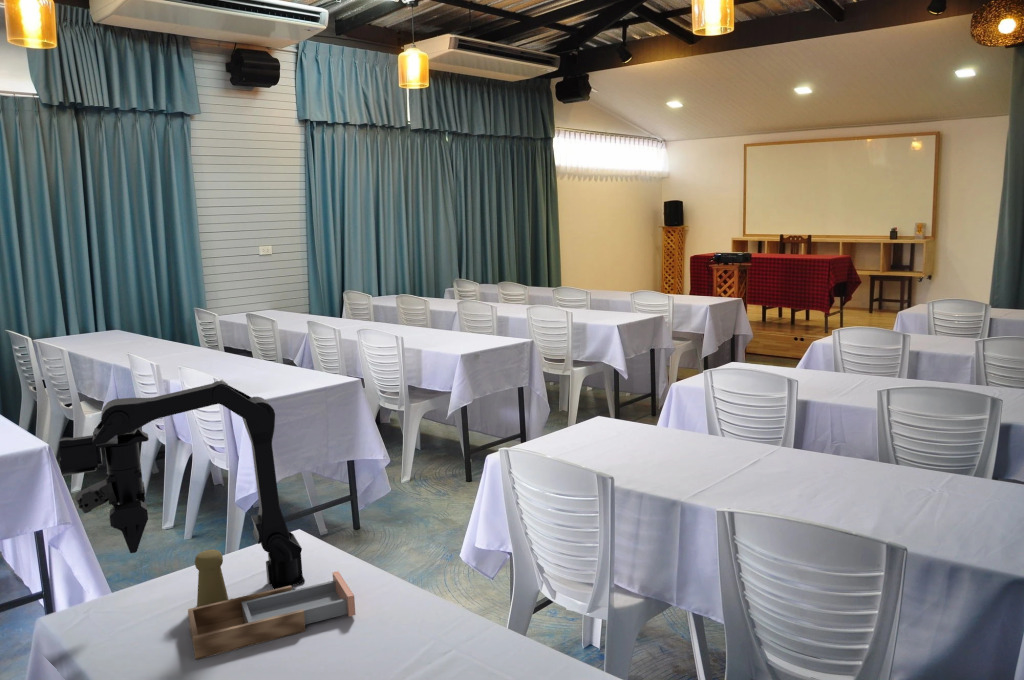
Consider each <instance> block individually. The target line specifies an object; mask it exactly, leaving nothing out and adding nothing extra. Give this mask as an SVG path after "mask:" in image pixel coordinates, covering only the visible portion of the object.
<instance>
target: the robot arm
mask: <svg viewBox="0 0 1024 680" xmlns="http://www.w3.org/2000/svg"><path fill="white" fill-rule="evenodd" d="M215 405H221V406H223V407H225V408H226V409H228V410H230V411H231V412H232V413H234V414H236V415H237V416H238V417H241V418H242V420H243V424H244V426H245V430H246V432H247V435H248V438H249V440H250V443H251V450H252V452H251V453H252V459H253V467H254V468H253V469H254V474H255V483H256V489H257V499H258V512H257V514H252V515H251V516H250V518H251V520H252V523H253V530H252V533H253V536H254V538H255V540H256V542H257V544H258V545H259V544H260V545H261V547H262V550H263V551H264V552H266V553H267V559H268V560H266V561H265V566H266V567H265V569H266V571H265V572H266V580H267V581H268V582H267V583H269V585H271V588H272V590H273V589H277V588H282V587H286V586H290V585H291V586H295V585H300V584H304V583H305V582H306V580H305V578H304V576H303V563H302V551H303V548H302V546H301V545H300V543H299V542H298V540H297V538H296V536H295V534H294V533H292V532H290V530H288V526H287V524H286V521H285V518H284V515H283V512H282V510H281V506H280V499H279V492H278V491H279V490H278V484H277V474H276V467H275V466H276V465H275V459H274V450H273V438H274V435H275V425H276V424H275V423H276V413H275V409H274V408H273V407H272V405H271V404H270V403H269V402H268V401H267V400H266V399H265V398H263V397H261V396H250V395H249V394H246V393H245V392H243V391H241V390H239V389H237V388H235V387H233V386H230V385H229V384H228V383H227V382H226V381H223V380H216V381H214V382H212V383H209V384H204V385H200V386H195V387H192V388H186V389H183V390H179V391H174V392H170V393H166V394H165V393H164V394H162V395H158V396H152V397H127V398H126V397H125V398H124V397H123V398H115V399H112V400H109V401H108V402H106V404H105V405H104V406H103V407H102V411H101V415H100V421H99V423H98V425H97V426H96V427H95V428H94V429H93V432H92V434H91V435H84V436H78V437H76V436H75V437H62V438H60V439H59V455H60V456H59V457H60V458H59V465H60V466H59V468H60V472H61V477H64V476H72V475H77V474H83V473H90V472H91V473H92V472H96V471H97V469H98V468H99V466H101V465H103V454H102V448H104V453H105V461H106V462H105V463H106V471H107V472H106V476H105V479H104V480H100V481H99V482H96V483H94V484H92V485H90V486H88V487H86V488H84V489H82V490H80V491H78V492H76V494H75V501H76V503H77V505H78V508H79V509H80V510H81V511H82V512H83V514H88V513H90V512H91V511H92V510H93V509H96V508H98V507H99V506H102V505H104V504H107V502H108V505H112V507H111V508H110V510H109V524H110V527H111V528H113V529H116V530H118V531H120V532H121V533H122V535H123V538H124V542H125V543H126V546H127V549H128V551H129V553H130V554H135V553H137V552H138V549H139V546H140V543H141V540H142V537H143V535H144V534H143V533H144V531H145V528H146V525H147V523H148V521H149V514H148V505H147V503H145V501H146V489H145V483H144V481H143V473H142V465H141V464H142V463H141V457H140V456H141V455H140V447H139V445H140V444H139V443H143V442H149V434H148V433H146V432H145V431H143V430H141V428H142V427H144V426H145V425H147V424H149V423H151V422H153V421H155V420H157V419H161V418H166V417H170V416H173V415H177V414H181V413H185V412H190V411H193V410H197V409H198V410H199V409H202V408H206V407H210V406H215ZM114 437H116V438H114Z"/></svg>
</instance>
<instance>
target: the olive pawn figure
mask: <svg viewBox="0 0 1024 680" xmlns="http://www.w3.org/2000/svg"><path fill="white" fill-rule="evenodd" d="M223 561H224V557H223V554H222V552H221V551H220V550H217V549H206V550H203V551H200V552H199V553H197V555H196V557H195V559H194V565H195V569H197V571H198V575H197V576H198V577H197V578H198V579H197V596H196V597H197V601H196V607H200V606H204V605H208V604H212V603H217V602H221V601H225V600H230V598H229V595H228V591H227V588H226V583H225V579H224V575H223V572H222V568H221V566H222V565H223V563H224V562H223Z"/></svg>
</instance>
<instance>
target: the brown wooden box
mask: <svg viewBox="0 0 1024 680" xmlns="http://www.w3.org/2000/svg"><path fill="white" fill-rule="evenodd" d="M292 586H293V585H292ZM292 586H291V585H290V586H286V587H282V588H277V589H273V588H272V589H270V590H266V591H261V592H260V591H259V592H257V593H253V594H252V593H251V594H247V595H243V596H238V597H235V598H231V599H230V598H229V600H225V601H221V602H217V603H212V604H208V605H204V606H200V607H197V606H195V607H192V608H191V607H190V608H187V614H188V624H189V625H188V627H189V633H190V637H191V643H192V648H193V653H194V656H195V660H197V661H198V660H200V659H204V658H208V657H211V656H215V655H219V654H220V655H221V654H224V653H227V652H231V651H235V650H238V649H243V648H247V647H251V646H254V645H257V644H258V645H259V644H262V643H265V642H269V641H273V640H276V639H282V638H284V637H285V638H286V637H289V636H293V635H297V634H300V633H305V632H306V624H305V619H304V610H303V609H302V610H298V611H294V612H290V613H286V614H282V615H278V616H274V617H270V618H266V619H262V620H258V621H254V622H250V623H246V624H245V621H244V618H243V614H242V603H241V602H244V601H248V600H253V599H257V598H261V597H265V596H270V595H274V594H278V593H283V592H287V591H291V590H293V587H292Z"/></svg>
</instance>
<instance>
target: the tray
mask: <svg viewBox="0 0 1024 680" xmlns="http://www.w3.org/2000/svg"><path fill="white" fill-rule="evenodd" d="M331 574H332V580H330V581H326V582H321V583H318V584H317V583H316V584H314V585H308V586H306V587H304V586H303V587H300V588H297V589H292V590H291V591H287V592H283V593H278V594H274V595H270V596H265V597H261V598H257V599H253V600H248V601H244V602H241V603H242V614H243V618H244V621H245V624H246V623H250V622H254V621H258V620H262V619H266V618H270V617H274V616H278V615H282V614H286V613H290V612H294V611H298V610H302V609H303V610H304V619H305V625H309V624H312V623H317V622H321V621H325V620H329V619H332V618H336V617H340V616H344V615H348V617H352V616H356V605H355V604H356V603H355V601H356V600H355V595H354V593H353V592H352V590H351V588H350V587H349V585H348V583H347V582H346V580H345V579H344V577H343V576H342V574H341V573H340V572H339V570H338V571H334V572H332V573H331Z"/></svg>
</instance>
